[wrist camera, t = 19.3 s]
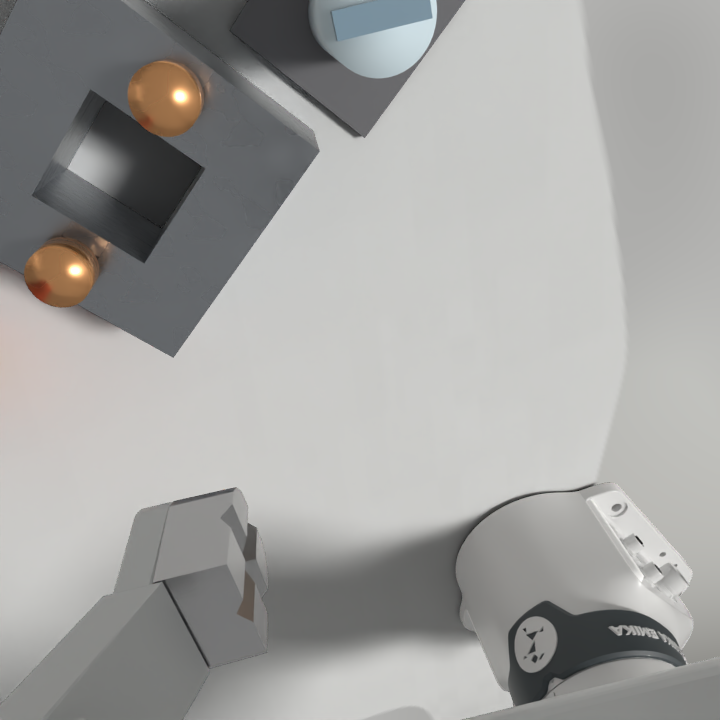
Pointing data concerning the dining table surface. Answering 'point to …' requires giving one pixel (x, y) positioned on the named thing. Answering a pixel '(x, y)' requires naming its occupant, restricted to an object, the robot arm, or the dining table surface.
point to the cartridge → (374, 33)
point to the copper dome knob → (165, 97)
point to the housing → (200, 143)
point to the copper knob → (61, 272)
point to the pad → (323, 59)
